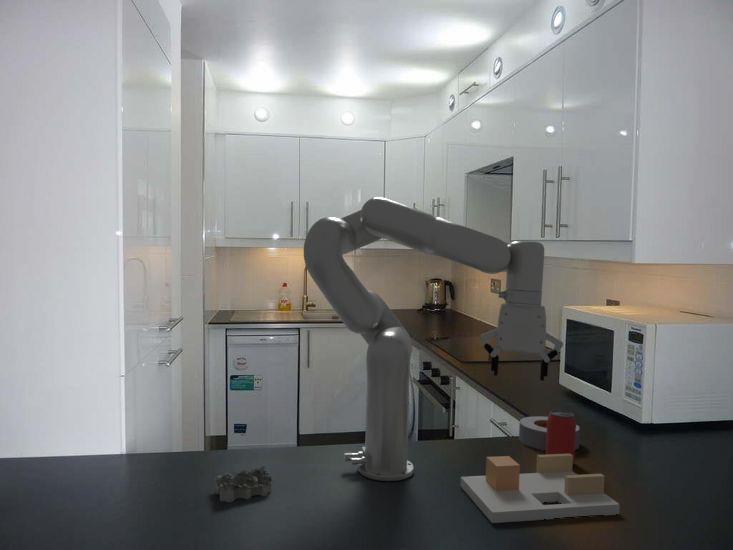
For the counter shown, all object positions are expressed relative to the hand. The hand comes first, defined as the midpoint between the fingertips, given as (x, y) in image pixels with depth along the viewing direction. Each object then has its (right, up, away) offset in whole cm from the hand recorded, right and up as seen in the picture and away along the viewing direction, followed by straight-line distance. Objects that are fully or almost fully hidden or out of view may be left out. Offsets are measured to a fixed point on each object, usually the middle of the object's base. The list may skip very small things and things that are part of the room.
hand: (518, 377), depth 116 cm
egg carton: (-58, -22, -8) cm, 62 cm away
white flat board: (+1, -23, -8) cm, 25 cm away
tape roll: (+16, -23, +27) cm, 39 cm away
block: (-5, -21, -6) cm, 23 cm away
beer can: (+13, -23, +13) cm, 30 cm away
